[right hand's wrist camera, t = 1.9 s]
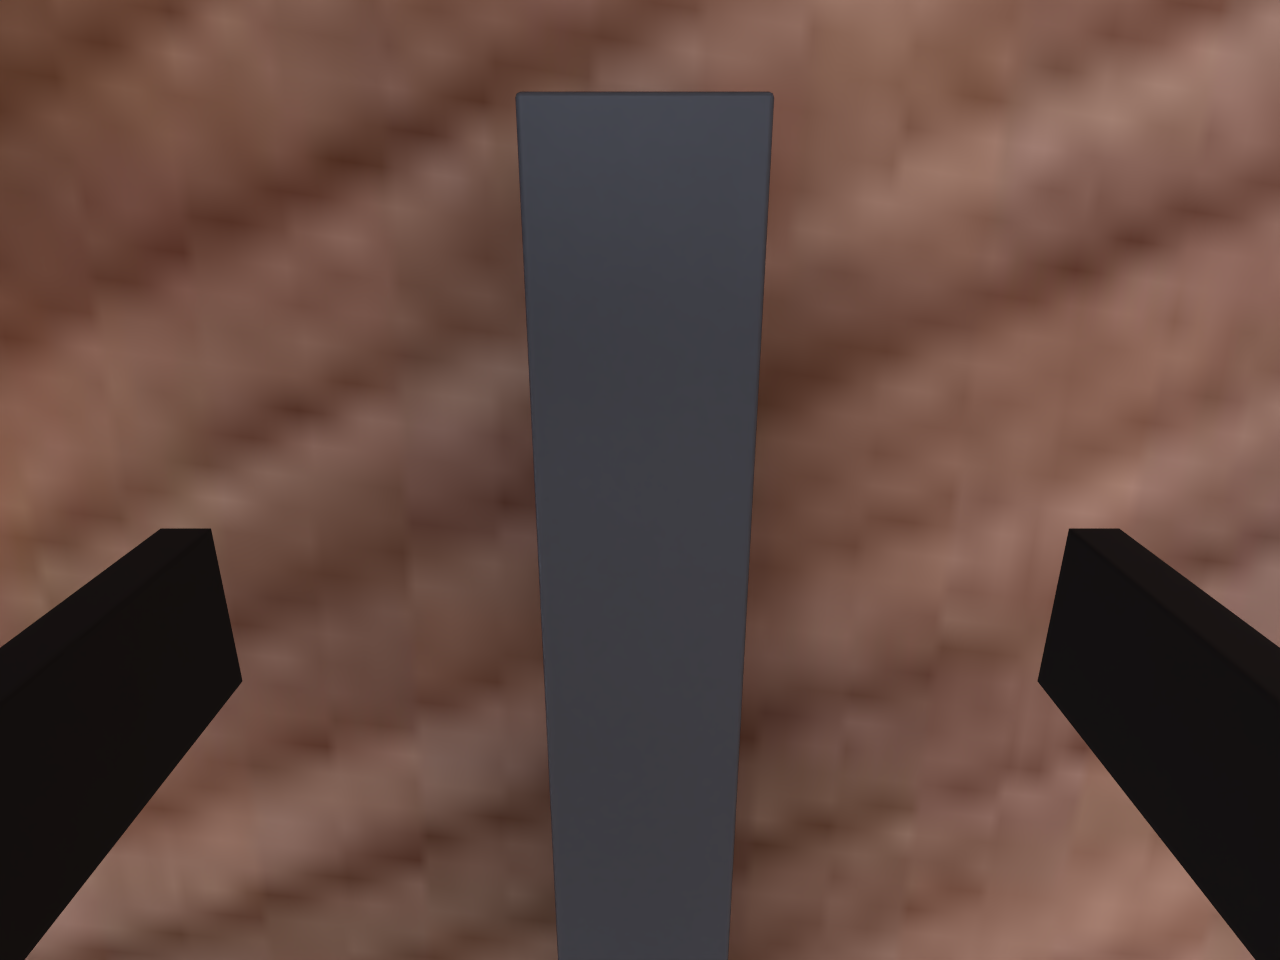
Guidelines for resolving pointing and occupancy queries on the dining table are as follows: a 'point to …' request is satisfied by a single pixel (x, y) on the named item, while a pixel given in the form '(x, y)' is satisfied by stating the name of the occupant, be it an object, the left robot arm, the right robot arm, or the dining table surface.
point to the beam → (643, 495)
